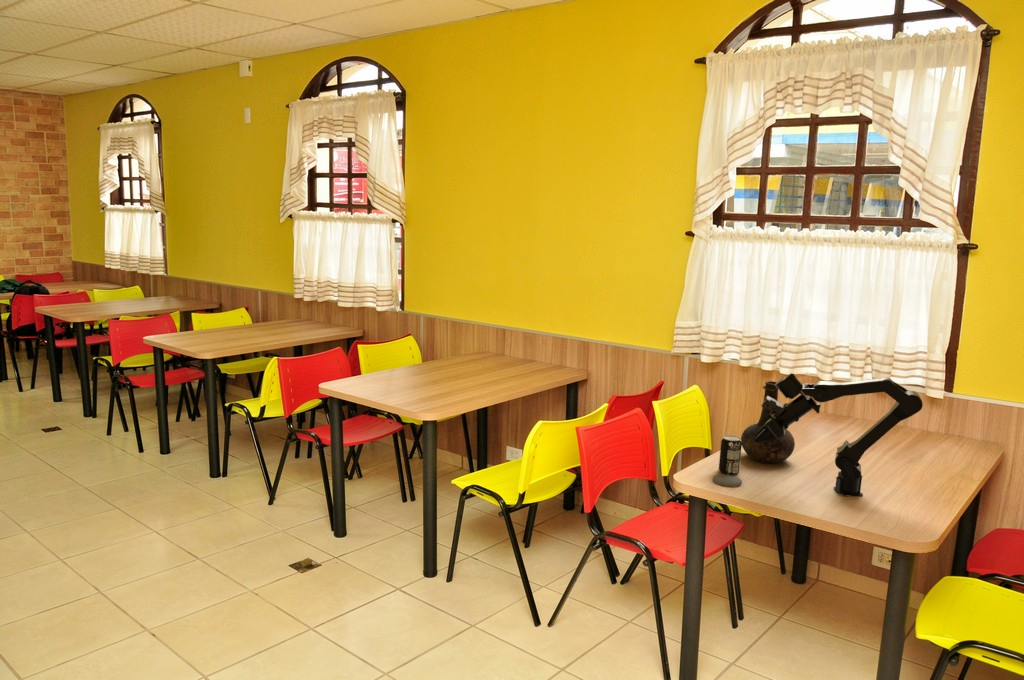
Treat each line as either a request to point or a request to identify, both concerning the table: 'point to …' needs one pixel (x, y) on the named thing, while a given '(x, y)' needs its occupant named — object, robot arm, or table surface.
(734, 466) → the beverage can
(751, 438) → the brown vase
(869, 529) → the table surface
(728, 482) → the coaster
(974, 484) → the table surface
